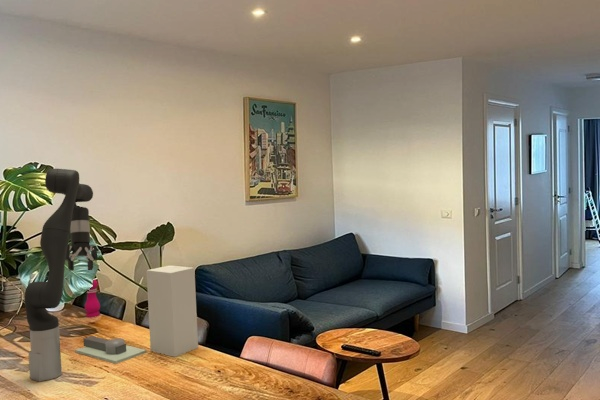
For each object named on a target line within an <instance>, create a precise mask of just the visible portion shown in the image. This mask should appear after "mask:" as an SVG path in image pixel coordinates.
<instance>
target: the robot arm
mask: <svg viewBox="0 0 600 400" xmlns="http://www.w3.org/2000/svg"><path fill="white" fill-rule="evenodd" d="M44 178H45V181H44V184H45V185H44V186H45V188H46V190H47V191H48V192H50V193H53V194H61V195H64V198H63V201H62V202H61V204H60V205H59V206H58V208H57V209H56V210H55V211H54V212H53V213H52V214H51V215H50V217H48V218H47V219H46V220H45V222H44V223H43V226H42V230H41V236H40V240H39V245H40V248H41V251H42V254H43V256H44V258H45V260H46V262H47V265H48V276H47V277H48V278H47V281H32V282H30V283H29V284H27V286H26V288H25V290H24V291H25V292H24V307H25V313H26V320H27V321H26V322H27V324H28V327H29V338H30V339H29V340H30V351H28V363H29V365H28V366H29V379H31V380H34V381H36V382H43V381H44V382H45V381H50V380H53V379H56V378H58V377H60V376H61V375H62V374H63V372H62V355H61V341H60V339H61V337H60V322H59V318H58V317H57V316H56V315H53V314H51V313H49V312H48V311H47V310H46V309H48V310H49V309H56V308H57V307H59V306H60V304H61V302H62V298H63V294H64V293H63V292H64V277H65V265H66V261H67V268H68V270H69V271H71V272H72V271H74V269H75V267H74V266H75V264H74V262H75V261H74V260H75V258H77V257H84V258H85V259H86V260H87V271H93V269H94V261H96V260H98V250H97V249H98V247H97V245H90V243H91V242H90V241H91V232H90V231H91V228H90V227H91V226H90V214H89V212H90V210H89V208H87V207H85V206H80V205H79V206H78V205H77V203H87V202H90V201H91V200H92V199H93V196H94V190H93V188H92V187H91V186H90V185H89V184H84V183H80V173H79V172H78V171H77V170H75V169H70V168H69V169H67V168H66V169H65V168H51V169H49V170H48V171H47V172H46V175H45V177H44ZM69 241H70V243H71V244H70V245H69ZM70 251H71V252H70Z"/></svg>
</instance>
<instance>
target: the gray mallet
mask: <svg viewBox="0 0 600 400" xmlns="http://www.w3.org/2000/svg"><path fill="white" fill-rule="evenodd" d="M82 342H83V347H90V348H94V349H98V350H102V351H106V354H117V355H118V354H121V353H124V352H126V345H127V343H125V339H124V338H112V339H106V338H103V337H100V336H99V337H97V336H95V335H91V336H88V337H84V338H83V341H82Z"/></svg>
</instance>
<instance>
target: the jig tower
mask: <svg viewBox="0 0 600 400" xmlns="http://www.w3.org/2000/svg"><path fill="white" fill-rule="evenodd" d="M195 271H196V270H195V267H191V266H190V267H189V266H182V265H180V266H177V265H173V264H172V265H165V266H161V267H160V266H159V267H156V268H151V269H146V286H147V287H146V291H147V303H148V305H147V306H148V308H147V309H148V322H149V323H148V324H149V325H148V326H149V343H150V345H149V346H150V352H152V351H153V353H156V352H157V354H160V353H161V355H164V354H165V355H164V356H168V357H173V358H177V357H178V356H182V355H184V354H187V353H189V352H191V350H192V351H194V350H196V349H199V338H198V337H199V335H198V319H197V318H198V315H197V298H196V297H197V296H196V292H197V291H196V278H195V277H196V274H195V273H196V272H195ZM186 352H187V353H186ZM181 354H182V355H181Z"/></svg>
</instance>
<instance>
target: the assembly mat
mask: <svg viewBox="0 0 600 400" xmlns="http://www.w3.org/2000/svg"><path fill="white" fill-rule="evenodd" d="M74 352H75V354H80V355H83V356H87V357H90V358H93V359H97V360H100V361H104V362H108V363H111V364H115V365H116V364H119V363H121V362H125V361H127V360H131V359H133V358H136V357H138V356H142V355H143V354H147V349H143V348H138V347H135V346H131V345H127V344H126V352H124V353H121V354H118V355H117V354H106V351H102V350H98V349H94V348H90V347H86V346H83V347H80V348H76V349H75V350H74Z"/></svg>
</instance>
